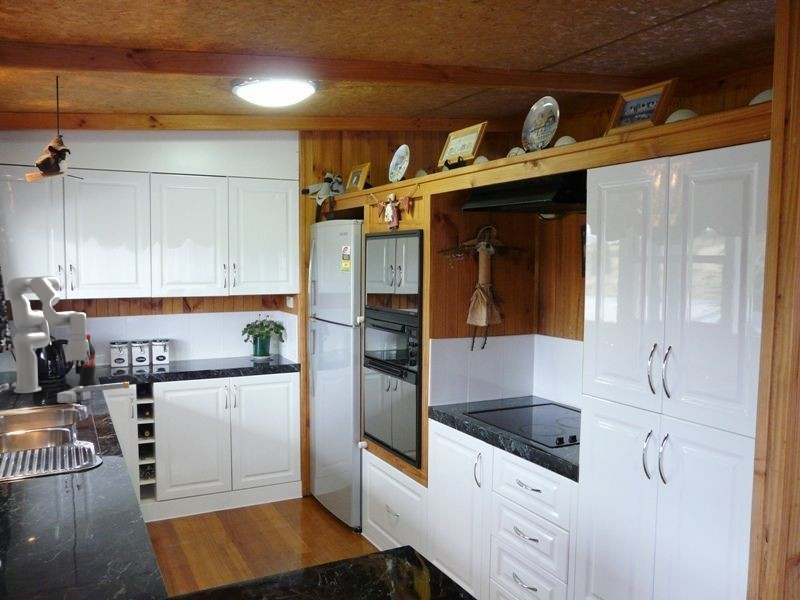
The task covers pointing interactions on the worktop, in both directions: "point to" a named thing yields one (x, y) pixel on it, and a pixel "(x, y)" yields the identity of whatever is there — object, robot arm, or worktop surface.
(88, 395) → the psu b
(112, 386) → the bar
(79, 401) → the pivot post
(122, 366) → the worktop surface
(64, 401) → the power supply
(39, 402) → the worktop surface
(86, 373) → the cola bottle
